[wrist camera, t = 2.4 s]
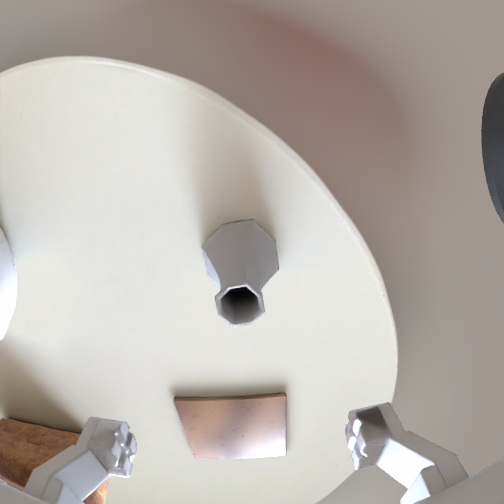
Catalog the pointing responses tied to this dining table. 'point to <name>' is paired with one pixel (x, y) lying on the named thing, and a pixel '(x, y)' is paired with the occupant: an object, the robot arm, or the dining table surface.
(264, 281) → the flask
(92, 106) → the dining table surface
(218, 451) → the coaster
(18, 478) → the bread
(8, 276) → the vase
